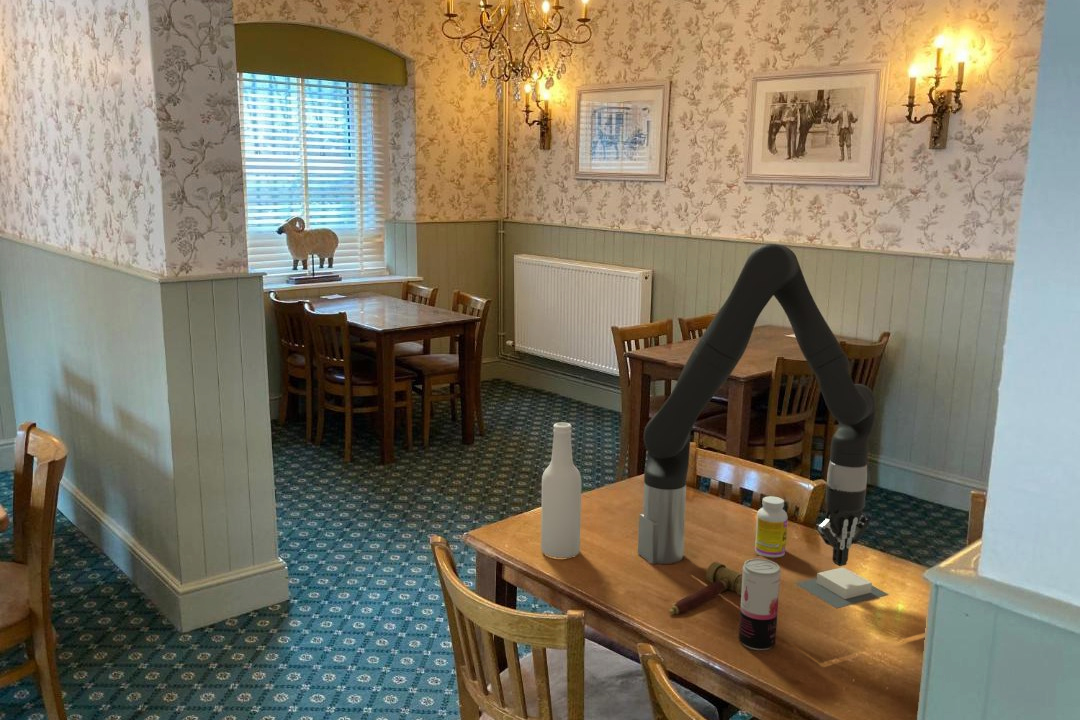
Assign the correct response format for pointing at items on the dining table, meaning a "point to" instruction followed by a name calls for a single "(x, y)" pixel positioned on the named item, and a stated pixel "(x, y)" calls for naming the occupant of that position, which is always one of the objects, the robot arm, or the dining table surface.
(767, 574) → the beverage can
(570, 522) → the alcohol
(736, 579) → the gavel
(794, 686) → the dining table surface
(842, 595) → the tile
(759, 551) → the supplement bottle
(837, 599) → the mat
